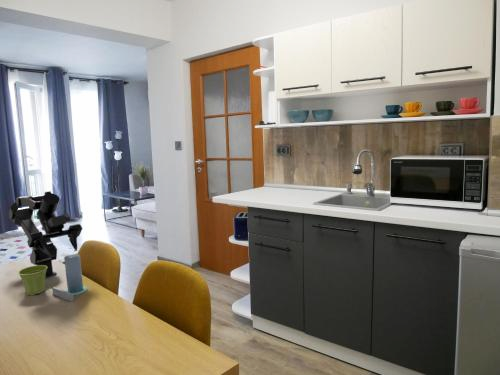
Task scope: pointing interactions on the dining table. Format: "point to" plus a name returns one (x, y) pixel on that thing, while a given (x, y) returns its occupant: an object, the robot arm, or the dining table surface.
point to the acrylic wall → (62, 293)
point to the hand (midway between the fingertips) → (64, 252)
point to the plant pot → (33, 279)
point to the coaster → (80, 291)
